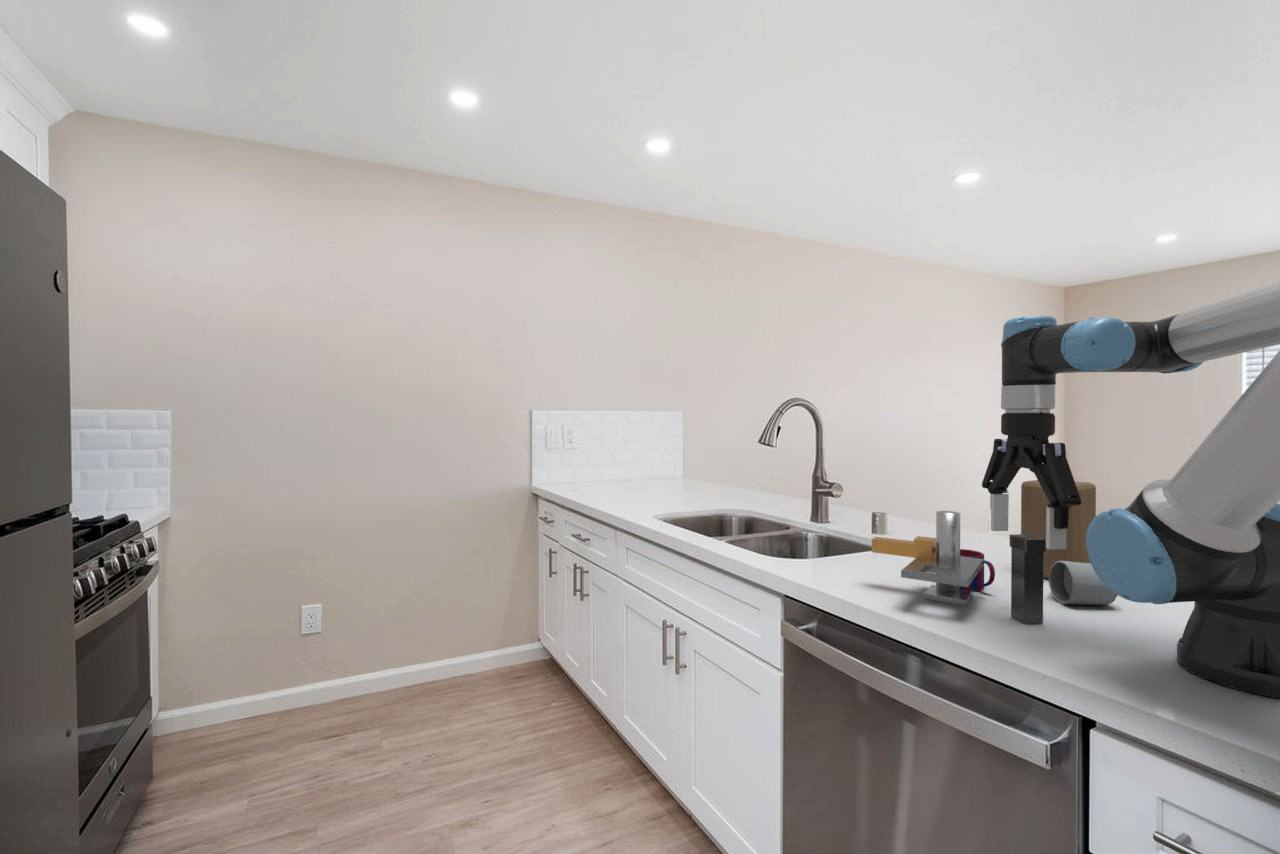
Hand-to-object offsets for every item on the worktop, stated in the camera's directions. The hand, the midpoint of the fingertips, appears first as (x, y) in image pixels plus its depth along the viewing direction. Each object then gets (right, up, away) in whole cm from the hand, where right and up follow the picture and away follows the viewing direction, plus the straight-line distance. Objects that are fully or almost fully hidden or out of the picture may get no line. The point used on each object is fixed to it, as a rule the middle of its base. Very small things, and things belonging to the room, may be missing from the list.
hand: (1025, 539), depth 100 cm
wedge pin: (0, -14, 0) cm, 14 cm away
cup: (+1, -13, +18) cm, 23 cm away
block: (+24, -13, +27) cm, 38 cm away
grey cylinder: (+16, -14, +10) cm, 23 cm away
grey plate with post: (-12, -13, +12) cm, 22 cm away
